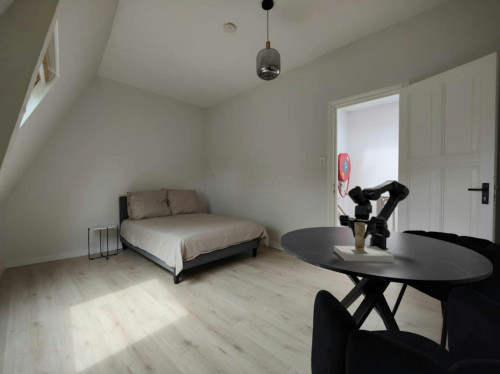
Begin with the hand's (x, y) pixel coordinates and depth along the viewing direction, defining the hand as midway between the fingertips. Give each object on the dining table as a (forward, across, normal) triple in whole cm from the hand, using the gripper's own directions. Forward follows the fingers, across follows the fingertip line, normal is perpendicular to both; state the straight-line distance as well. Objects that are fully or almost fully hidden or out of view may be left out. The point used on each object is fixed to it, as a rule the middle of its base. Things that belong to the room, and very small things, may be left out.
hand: (359, 237), depth 101 cm
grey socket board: (+4, +1, +9) cm, 10 cm away
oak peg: (+4, 0, +6) cm, 7 cm away
